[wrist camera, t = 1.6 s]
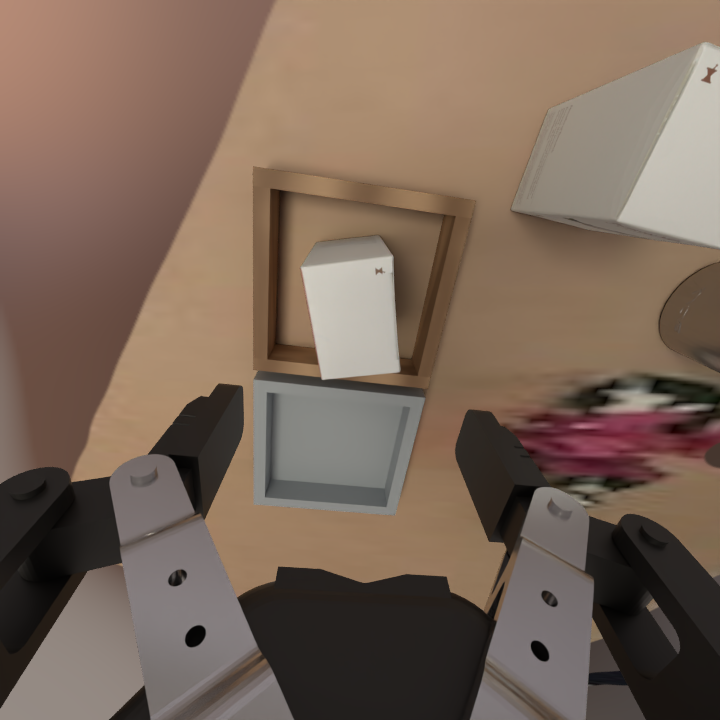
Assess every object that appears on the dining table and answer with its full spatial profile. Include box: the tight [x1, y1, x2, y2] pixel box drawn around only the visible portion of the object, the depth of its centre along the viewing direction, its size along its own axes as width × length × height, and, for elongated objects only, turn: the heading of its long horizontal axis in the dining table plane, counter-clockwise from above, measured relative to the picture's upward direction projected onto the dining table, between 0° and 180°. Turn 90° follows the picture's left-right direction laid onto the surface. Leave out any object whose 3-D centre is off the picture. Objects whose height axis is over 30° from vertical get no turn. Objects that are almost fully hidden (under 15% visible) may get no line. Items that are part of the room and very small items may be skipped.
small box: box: [300, 235, 401, 380], centre depth 26 cm, size 8×6×10 cm
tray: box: [254, 370, 425, 515], centre depth 36 cm, size 16×16×4 cm
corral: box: [253, 167, 476, 389], centre depth 29 cm, size 16×16×4 cm
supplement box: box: [511, 42, 720, 249], centre depth 21 cm, size 7×7×13 cm
